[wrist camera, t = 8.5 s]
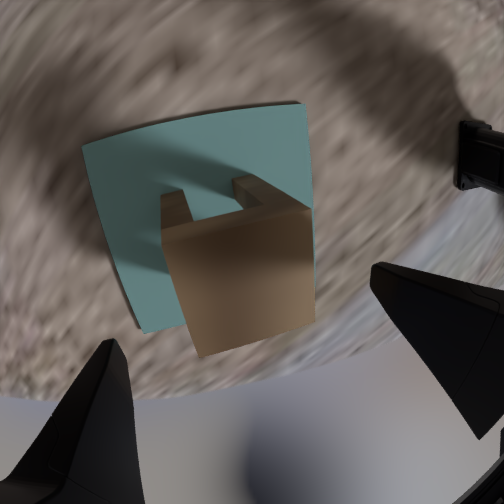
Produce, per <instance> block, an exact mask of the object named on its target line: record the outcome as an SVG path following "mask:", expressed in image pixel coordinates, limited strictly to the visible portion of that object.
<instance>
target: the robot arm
mask: <svg viewBox="0 0 504 504" xmlns="http://www.w3.org/2000/svg"><path fill="white" fill-rule="evenodd" d="M478 187H483V188H486V189H488V190H491V191H493V192H496V193H498V194H500V195H503V196H504V133H502V132H498V131H494V130H492V126H491V125H488V124H483V123H476V122H469V121H461V122H460V152H459V172H458V189H459V190H462V191H464V190H468V189H473V188H478ZM370 288H371V290H372V292H373V293H374V295H375V296H376V298H377V299H378V301H379V302H380V304H381V305H382V307H383V308H384V310H385V311H386V313H387V314H388V316H389V317H390V319H391V320H392V321H393V323H394V324H395V325H396V327H397V328H398V329H399V330H400V332H401V333H402V334H403V335H404V337H405V338H406V339H407V341H408V342H409V343H410V344H411V346H412V347H413V348H414V349H415V351H416V352H417V353H418V355H419V356H420V357H421V359H422V360H423V361H424V363H425V364H426V365H427V366H428V368H429V369H430V371H431V372H432V373H433V375H434V376H435V377H436V379H437V380H438V382H439V383H440V384H441V386H442V387H443V389H444V390H445V391H446V393H447V394H448V396H449V397H450V398H451V399H452V402H453V403H454V404H455V406H456V407H457V409H458V410H459V412H460V413H461V415H462V416H463V418H464V419H465V421H466V422H467V424H468V425H469V427H470V428H471V430H472V431H473V433H474V434H475V436H476V437H477V439H478V440H480V439H481V438H482V437H483V436H484V435H485V434H486V433H487V432H488V431H489V430H490V429H491V428H492V427H493V426H494V425H495V423H496V422H497V421H498V420H499V419H500V418H501V417H502V416H503V415H504V290H499V289H494V288H489V287H484V286H480V285H476V284H472V283H468V282H464V281H460V280H456V279H452V278H448V277H444V276H440V275H436V274H432V273H428V272H424V271H420V270H416V269H412V268H407V267H403V266H399V265H395V264H391V263H387V262H378V263H376V264H373V265H372V267H371V276H370ZM0 504H145V500H144V495H143V489H142V482H141V476H140V469H139V461H138V453H137V444H136V434H135V421H134V407H133V398H132V392H131V386H130V379H129V372H128V365H127V360H126V357H125V355H124V353H123V351H122V350H121V348H120V346H119V344H118V342H117V341H116V340H115V339H114V338H112V339H107V340H104V341H102V342H101V344H100V345H99V346H98V348H97V349H96V351H95V352H94V353H93V355H92V356H91V358H90V359H89V360H88V362H87V363H86V365H85V366H84V367H83V369H82V370H81V372H80V373H79V374H78V376H77V377H76V379H75V380H74V382H73V383H72V385H71V386H70V388H69V389H68V391H67V392H66V393H65V395H64V396H63V398H62V399H61V401H60V402H59V404H58V406H57V407H56V409H55V410H54V412H53V413H52V416H50V418H49V420H48V421H47V422H46V424H45V426H44V427H43V429H42V430H41V432H40V433H39V435H38V436H37V438H36V439H35V440H34V442H33V443H32V445H31V446H30V447H29V449H28V450H27V451H26V453H25V454H24V456H23V457H22V458H21V460H20V461H19V462H18V464H17V465H16V467H15V468H14V469H13V471H12V472H11V473H10V475H9V476H7V477H6V478H5V479H4V480H2V481H0ZM452 504H504V427H503V429H502V430H501V441H500V458H499V459H498V460H497V461H496V462H495V463H494V464H493V466H492V467H491V468H490V469H489V470H488V471H487V472H486V473H485V474H484V475H483V476H482V477H481V478H480V479H479V480H478V481H477V482H476V483H475V484H474V485H473V486H472V487H471V488H470V489H468V490H467V491H466V492H465V493H464V494H463V495H462V496H461V497H460V498H458V499H457V500H456V501H455V502H454V503H452Z"/></svg>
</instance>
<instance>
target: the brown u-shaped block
mask: <svg viewBox="0 0 504 504" xmlns="http://www.w3.org/2000/svg"><path fill="white" fill-rule="evenodd" d="M231 179H232V186H233V192H234V198H235V200H236V201H237V203H238V204H239V205H240V206H241V207H242V208H243V210H239V211H234V212H230V213H226V214H222V215H218V216H213V217H209V218H205V219H201V220H197V221H194V220H193V217H192V214H191V211H190V209H189V206H188V203H187V200H186V197H185V194H184V191H183V189H182V190H178V191H174V192H170V193H166V194H162V195H160V210H161V246H162V250H163V253H164V256H165V260H166V263H167V266H168V270H169V273H170V276H171V279H172V282H173V285H174V288H175V292H176V295H177V298H178V301H179V304H180V307H181V309H182V312H183V315H184V318H185V321H186V324H187V327H188V329H189V332H190V335H191V338H192V340H193V343H194V346H195V348H196V351H197V354H198V356H199V358H201V357H205V356H209V355H212V354H216V353H220V352H223V351H227V350H230V349H234V348H237V347H240V346H244V345H247V344H250V343H253V342H257V341H260V340H263V339H266V338H269V337H272V336H275V335H278V334H281V333H284V332H287V331H290V330H293V329H296V328H299V327H302V326H305V325H307V324H310V323H313V322H315V282H314V248H313V225H312V209H311V208H309V207H308V206H306V205H304V204H303V203H301V202H300V201H298V200H296V199H295V198H293V197H291V196H290V195H288V194H286V193H285V192H283V191H281V190H280V189H278V188H276V187H275V186H273V185H271V184H269V183H268V182H266V181H264V180H263V179H261V178H259V177H257V176H256V175H254V174H250V175H245V176H240V177H236V178H231Z"/></svg>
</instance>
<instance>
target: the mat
mask: <svg viewBox="0 0 504 504" xmlns="http://www.w3.org/2000/svg"><path fill="white" fill-rule="evenodd" d="M81 147H82V151H83V156H84V161H85V165H86V169H87V173H88V177H89V181H90V185H91V189H92V193H93V197H94V200H95V204H96V207H97V211H98V214H99V217H100V221H101V224H102V227H103V230H104V234H105V237H106V240H107V243H108V246H109V249H110V251H111V254H112V257H113V260H114V263H115V266H116V268H117V271H118V274H119V276H120V279H121V281H122V284H123V287H124V289H125V292H126V294H127V297H128V299H129V301H130V304H131V306H132V309H133V311H134V313H135V316H136V318H137V320H138V322H139V325H140V327H141V329H142V331H143V333H144V334H146V333H150V332H155V331H159V330H163V329H167V328H171V327H175V326H179V325H183V324H186V321H185V318H184V315H183V312H182V309H181V307H180V304H179V301H178V298H177V295H176V292H175V288H174V285H173V282H172V279H171V276H170V273H169V270H168V266H167V263H166V260H165V256H164V253H163V250H162V246H161V210H160V195H162V194H166V193H170V192H174V191H178V190H182V189H183V191H184V194H185V197H186V200H187V203H188V206H189V209H190V211H191V214H192V217H193V220H194V221H197V220H201V219H205V218H209V217H213V216H218V215H222V214H226V213H230V212H234V211H239V210H243V208H242V207H241V206H240V205H239V204H238V203H237V201H236V200H235V198H234V192H233V186H232V179H231V178H236V177H240V176H245V175H250V174H254V175H256V176H257V177H259V178H261V179H263V180H264V181H266V182H268V183H269V184H271V185H273V186H275V187H276V188H278V189H280V190H281V191H283V192H285V193H286V194H288V195H290V196H291V197H293V198H295V199H296V200H298V201H300V202H301V203H303V204H304V205H306V206H308V207H309V208H311V209H312V225H313V248H314V282H315V234H314V209H313V190H312V173H311V159H310V146H309V135H308V124H307V114H306V104H292V105H278V106H267V107H257V108H248V109H240V110H232V111H225V112H218V113H212V114H206V115H200V116H195V117H189V118H184V119H179V120H174V121H170V122H165V123H160V124H156V125H152V126H148V127H144V128H140V129H136V130H132V131H128V132H125V133H121V134H118V135H114V136H111V137H107V138H104V139H101V140H98V141H94V142H91V143H88V144H85V145H82V146H81Z"/></svg>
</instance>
